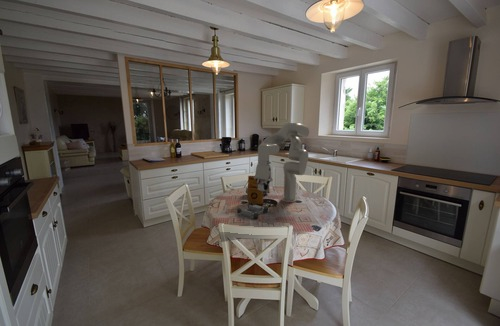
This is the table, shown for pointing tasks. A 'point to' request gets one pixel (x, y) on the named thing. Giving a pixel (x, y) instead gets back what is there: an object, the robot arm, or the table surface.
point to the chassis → (252, 211)
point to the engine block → (261, 186)
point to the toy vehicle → (263, 191)
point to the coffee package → (254, 191)
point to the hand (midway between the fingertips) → (262, 188)
